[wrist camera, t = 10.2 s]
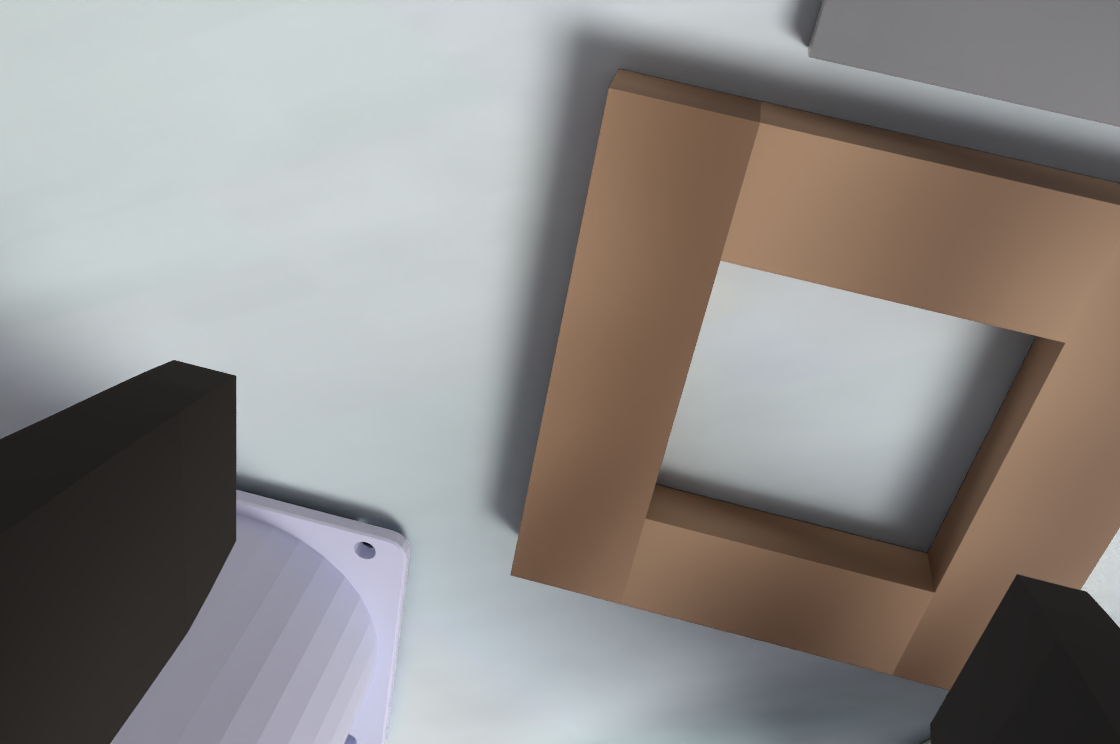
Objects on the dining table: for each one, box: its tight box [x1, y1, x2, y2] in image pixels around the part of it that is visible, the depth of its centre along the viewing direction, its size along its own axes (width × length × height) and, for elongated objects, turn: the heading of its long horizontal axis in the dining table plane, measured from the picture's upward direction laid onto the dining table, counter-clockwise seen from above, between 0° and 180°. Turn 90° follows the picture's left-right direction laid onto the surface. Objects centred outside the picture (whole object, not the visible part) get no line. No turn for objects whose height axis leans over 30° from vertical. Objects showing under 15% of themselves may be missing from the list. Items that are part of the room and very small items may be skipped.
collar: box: [511, 69, 1120, 690], centre depth 20 cm, size 11×11×1 cm
